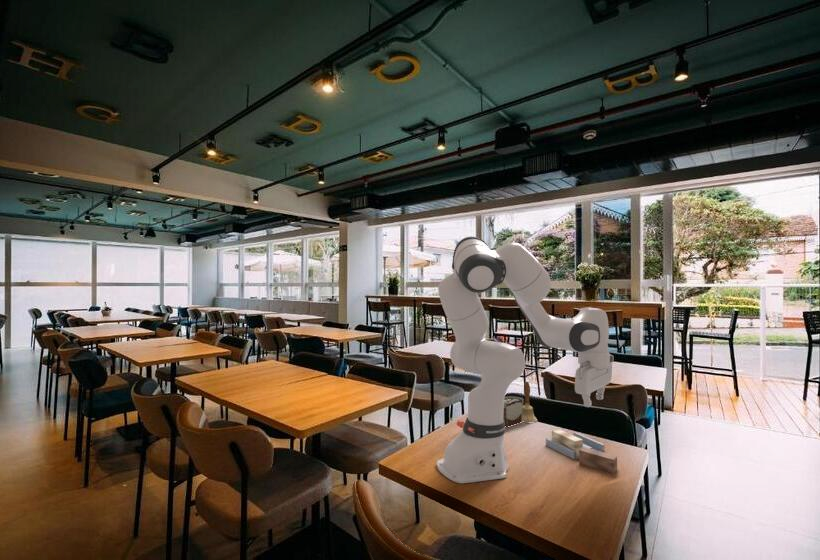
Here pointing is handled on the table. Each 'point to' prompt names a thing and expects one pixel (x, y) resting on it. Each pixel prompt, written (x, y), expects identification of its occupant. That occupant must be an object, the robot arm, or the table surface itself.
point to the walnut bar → (598, 459)
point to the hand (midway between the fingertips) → (593, 402)
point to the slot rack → (571, 453)
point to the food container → (512, 410)
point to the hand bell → (527, 406)
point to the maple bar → (567, 440)
